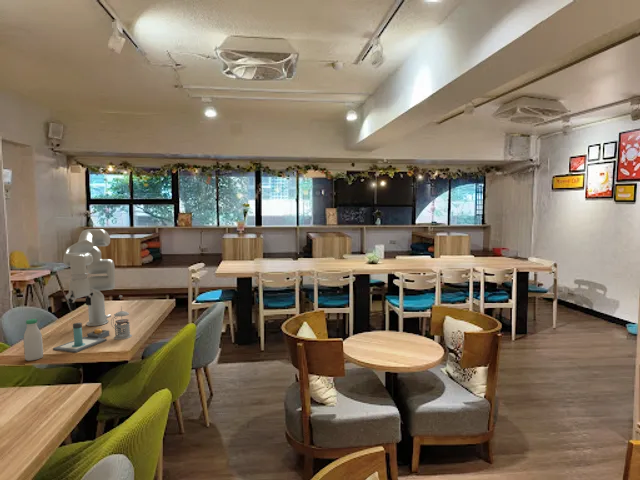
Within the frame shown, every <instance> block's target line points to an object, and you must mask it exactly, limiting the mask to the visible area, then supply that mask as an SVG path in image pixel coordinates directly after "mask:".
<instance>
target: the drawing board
mask: <svg viewBox="0 0 640 480" xmlns="http://www.w3.org/2000/svg"><path fill="white" fill-rule="evenodd" d="M82 339H83V345H81V346H74V340H71V341H69V342H65V343H63V344H61V345H57V346H56V347H55V346H54V347H53V348H52V350H53V351H60V352H68V353H79V352H81V351H83V350H86V349H89V348H92V347H94V346H97V345H99V344H102V343H104V342H106V341H107V338H93V337H87V336H82Z"/></svg>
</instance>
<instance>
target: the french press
mask: <svg viewBox="0 0 640 480" xmlns="http://www.w3.org/2000/svg"><path fill="white" fill-rule="evenodd" d="M118 298H120V299H122V298H123V295H121V294H119V296H118ZM122 308H123V307H120V311H118V312H116V313H114V314H113V318H111V319H110V325H111V327H113V329H114V334H115V336H114V337H113V339H114V340H118V341H119V340H120V341H121V340H125V339H129V338H131V337H132V336H133V335H132V334H131V332H130V331H131V330H130V329H131V328H130V322H129V321H130V320H129V319H127V318H126V319H124V318H121V319H117V318H118V317H126V316H128V315H130V313H129V312H128V311H126V310H125V311H123V310H122ZM114 319H115V323H114ZM116 319H117V320H116ZM112 323H113V324H112Z"/></svg>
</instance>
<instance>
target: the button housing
mask: <svg viewBox="0 0 640 480" xmlns="http://www.w3.org/2000/svg"><path fill="white" fill-rule="evenodd" d="M109 336H110V330H109V329H108V330H106V329H102V332H101V333H99V334H96V333H94V331H91V332H87V334H86V337H93V338H102V339H105V338H107V337H109Z"/></svg>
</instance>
